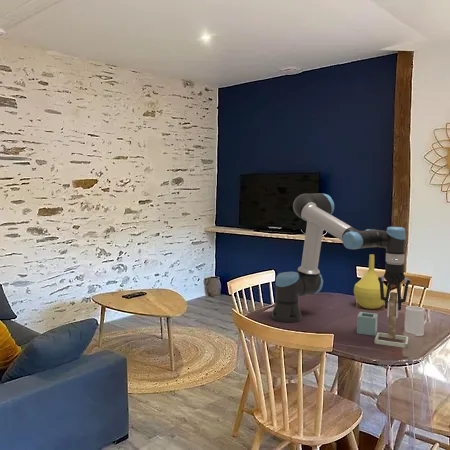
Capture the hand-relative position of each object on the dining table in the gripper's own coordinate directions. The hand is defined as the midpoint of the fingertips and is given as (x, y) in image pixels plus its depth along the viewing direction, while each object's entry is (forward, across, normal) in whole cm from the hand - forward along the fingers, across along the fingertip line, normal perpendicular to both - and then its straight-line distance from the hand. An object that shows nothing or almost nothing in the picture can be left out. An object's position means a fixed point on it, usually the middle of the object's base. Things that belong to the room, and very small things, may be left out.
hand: (392, 316), depth 199 cm
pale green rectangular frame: (+12, 0, 0) cm, 12 cm away
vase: (+12, -16, +60) cm, 63 cm away
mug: (+12, +10, +21) cm, 26 cm away
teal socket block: (+12, -12, +9) cm, 19 cm away
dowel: (+10, 0, 0) cm, 10 cm away
